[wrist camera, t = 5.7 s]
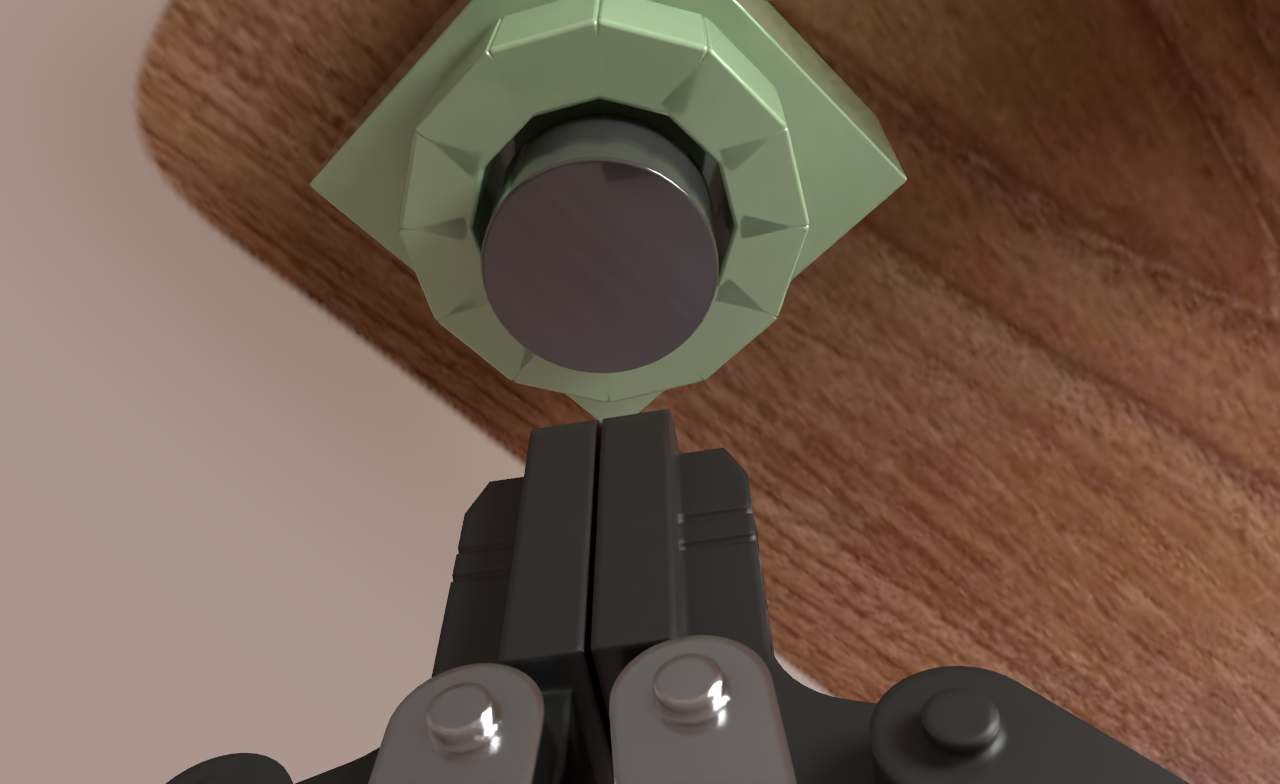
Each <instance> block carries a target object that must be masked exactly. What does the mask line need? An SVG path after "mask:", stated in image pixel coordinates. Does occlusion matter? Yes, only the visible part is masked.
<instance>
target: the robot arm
mask: <svg viewBox="0 0 1280 784" xmlns="http://www.w3.org/2000/svg"><path fill="white" fill-rule="evenodd" d="M458 550H459V554H457V555H456V560H455V566H454V570H453V575H452V576H453V582H451V585H450V590H449V595H448V600H447V604H446V609H445V614H444V620H443V624H442V629H441V634H440V639H439V644H438V649H437V654H436V659H435V664H434V669H433V673H432V678H431V679H429V680H427V681H426V682H424V683H423V684H422V685H420V686H418V687H417V688H416V689H415V690H414V691H413V692H411V693H410V694H409V695H408V696H407V697H406V698H405V699H404V700H403V701H402V702H401V703H400V705H399V706H398V707H397V709H396V710H395V712H394V713H393V715H392V716H391V718H390V721H389V723H388V725H387V728H386V731H385V734H384V737H383V740H382V743H381V746H380V748H378V749H376V750H374V751H372V752H371V753H369V754H367V755H365V756H363V757H361V758H359V759H357V760H355V761H352V762H350V763H347V764H345V765H342V766H340V767H337V768H334V769H332V770H329V771H327V772H324V773H321V774H319V775H316V776H314V777H311V778H309V779H306V780H304V781H301V782H298V783H296V784H1189V783H1188V782H1186V781H1184V780H1183V779H1181V778H1179V777H1177V776H1176V775H1174V774H1172V773H1171V772H1169V771H1167V770H1166V769H1164V768H1162V767H1161V766H1159V765H1157V764H1155V763H1154V762H1152V761H1150V760H1149V759H1147V758H1145V757H1144V756H1142V755H1140V754H1139V753H1137V752H1135V751H1134V750H1132V749H1130V748H1128V747H1127V746H1125V745H1123V744H1122V743H1120V742H1118V741H1117V740H1115V739H1113V738H1112V737H1110V736H1108V735H1106V734H1105V733H1103V732H1101V731H1100V730H1098V729H1096V728H1095V727H1093V726H1091V725H1090V724H1088V723H1086V722H1084V721H1083V720H1081V719H1079V718H1078V717H1076V716H1074V715H1073V714H1071V713H1069V712H1068V711H1066V710H1064V709H1062V708H1061V707H1059V706H1057V705H1056V704H1054V703H1052V702H1051V701H1049V700H1047V699H1046V698H1044V697H1042V696H1041V695H1039V694H1037V693H1035V692H1034V691H1032V690H1030V689H1029V688H1027V687H1025V686H1024V685H1022V684H1020V683H1019V682H1017V681H1015V680H1013V679H1011V678H1009V677H1007V676H1005V675H1002V674H999V673H996V672H993V671H990V670H985V669H981V668H976V667H965V666H949V667H939V668H933V669H928V670H925V671H922V672H919V673H916V674H913V675H911V676H909V677H907V678H905V679H903V680H901V681H900V682H898V683H897V684H895V685H894V686H892V687H891V688H890V689H889V690H888V691H887V692H886V693H885V694H884V695H883V696H882V698H881V699H880V700H879V702H878V703H877V704H875V703H867V702H860V701H853V700H846V699H841V698H836V697H831V696H828V695H825V694H822V693H819V692H816V691H814V690H812V689H810V688H808V687H806V686H804V685H802V684H801V683H799V682H798V681H796V680H795V679H793V678H792V677H791V676H790V675H789V674H788V673H787V672H786V671H785V670H784V669H783V668H782V667H781V665H780V664H779V663H778V661H777V660H776V658H775V656H774V651H773V643H772V635H771V628H770V621H769V613H768V605H767V598H766V590H765V583H764V577H763V570H762V564H761V558H760V551H759V545H758V539H757V532H756V526H755V520H754V513H753V507H752V501H751V494H750V488H749V482H748V475H747V473H746V472H745V471H744V469H743V468H742V467H741V466H740V465H739V464H738V463H737V462H736V461H735V460H734V458H733V457H732V456H731V455H730V454H729V453H728V452H727V451H726V450H725V448H719V449H712V450H705V451H698V452H691V453H684V454H679V449H678V444H677V438H676V433H675V428H674V423H673V419H672V415H671V412H670V409H665V410H659V411H652V412H645V413H638V414H632V415H625V416H618V417H611V418H605V419H603V421H602V425H601V423H600V421H599V420H593V421H586V422H579V423H573V424H566V425H559V426H552V427H546V428H539V429H533V430H532V431H531V433H530V439H529V446H528V453H527V460H526V467H525V474H524V477H520V478H513V479H506V480H499V481H492V482H489V484H488V485H487V486H486V488H485V489H484V490H483V492H482V493H481V494H480V495H479V497H478V498H477V499H476V500H475V502H474V503H473V504H472V506H471V507H470V508H469V509H468V511H467V512H466V513H465V516H464V521H463V526H462V531H461V537H460V541H459V546H458ZM166 784H293V782H292V780H291V778H290V776H289V774H288V773H287V771H286V770H285V768H284V767H283V766H282V765H281V764H279V763H278V762H277V761H275V760H273V759H271V758H269V757H267V756H263V755H259V754H253V753H237V754H229V755H224V756H219V757H216V758H213V759H210V760H207V761H204V762H201V763H199V764H197V765H195V766H193V767H191V768H189V769H187V770H186V771H184V772H182V773H180V774H179V775H177V776H175V777H174V778H173V779H171V780H170V781H169V782H167V783H166Z"/></svg>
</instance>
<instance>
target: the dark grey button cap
mask: <svg viewBox="0 0 1280 784" xmlns="http://www.w3.org/2000/svg"><path fill="white" fill-rule="evenodd" d="M481 274H482V280H483V286H484V289H485V292H486V296H487V299H488V301H489V303H490V305H491V307H492V309H493V312H494V313H495V315H496V316H497V318H498V319H499V321H500V323H501V324H502V325H503V326H504V328H505V329H506V330H507V331H508V332H509V334H510V335H511V336H512V337H513V338H514V339H516V340H517V341H518V342H519V343H520V344H521V345H522V346H524V347H525V348H526V349H528V350H529V351H530V352H532V353H533V354H535V355H537V356H539V357H540V358H542V359H544V360H546V361H548V362H551V363H553V364H555V365H558V366H561V367H564V368H568V369H571V370H575V371H581V372H588V373H617V372H623V371H629V370H633V369H637V368H640V367H643V366H646V365H649V364H651V363H653V362H656V361H658V360H660V359H662V358H663V357H665V356H667V355H668V354H670V353H672V352H673V351H674V350H676V349H677V348H678V347H679V346H681V345H682V344H683V343H684V342H685V341H686V340H687V339H688V338H689V337H690V336H691V335H692V334H693V333H694V332H695V331H696V329H697V328H698V327H699V326H700V324H701V323H702V321H703V320H704V318H705V316H706V314H707V313H708V311H709V309H710V306H711V304H712V301H713V299H714V296H715V292H716V288H717V284H718V274H719V261H718V249H717V240H716V231H715V222H714V213H713V205H712V199H711V194H710V190H709V187H708V185H707V182H706V179H705V177H704V175H703V173H702V171H701V169H700V167H699V166H698V164H697V163H696V161H695V160H694V158H693V157H692V155H691V154H690V153H689V152H688V151H687V150H686V149H685V148H684V147H683V146H682V145H681V144H680V143H679V142H678V141H677V140H675V139H674V138H673V137H672V136H671V135H669V134H668V133H666V132H664V131H663V130H661V129H660V128H658V127H656V126H654V125H652V124H650V123H647V122H645V121H642V120H639V119H636V118H633V117H629V116H624V115H618V114H606V113H597V114H585V115H580V116H575V117H571V118H568V119H565V120H562V121H559V122H557V123H555V124H553V125H551V126H549V127H547V128H545V129H543V130H542V131H540V132H539V133H537V134H536V135H534V136H533V137H532V138H531V139H530V140H528V141H527V142H526V143H525V144H524V145H523V146H522V147H521V148H520V149H519V151H518V152H517V153H516V154H515V155H514V156H513V158H512V160H511V161H510V163H509V164H508V166H507V168H506V169H505V172H504V174H503V176H502V178H501V181H500V184H499V188H498V191H497V194H496V198H495V201H494V205H493V208H492V212H491V215H490V219H489V222H488V225H487V229H486V232H485V236H484V240H483V244H482V251H481Z"/></svg>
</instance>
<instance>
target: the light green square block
mask: <svg viewBox="0 0 1280 784" xmlns="http://www.w3.org/2000/svg"><path fill="white" fill-rule="evenodd" d="M597 113H606V114H618V115H624V116H629V117H633V118H636V119H639V120H642V121H645V122H647V123H650V124H652V125H654V126H656V127H658V128H660V129H661V130H663V131H664V132H666V133H668V134H669V135H671V136H672V137H673V138H674V139H675V140H677V141H678V142H679V143H680V144H681V145H682V146H683V147H684V148H685V149H686V150H687V151H688V152H689V153H690V154H691V155H692V157H693V158H694V160H695V161H696V163H697V164H698V166H699V167H700V169H701V171H702V173H703V175H704V177H705V179H706V182H707V185H708V187H709V190H710V194H711V199H712V205H713V213H714V222H715V231H716V240H717V249H718V261H719V274H718V284H717V288H716V292H715V296H714V299H713V301H712V304H711V306H710V309H709V311H708V313H707V314H706V316H705V318H704V320H703V321H702V323H701V324H700V326H699V327H698V328H697V329H696V331H695V332H694V333H693V334H692V335H691V336H690V337H689V338H688V339H687V340H686V341H685V342H684V343H683V344H682V345H681V346H679V347H678V348H677V349H676V350H674V351H673V352H672V353H670V354H668V355H667V356H665V357H663V358H662V359H660V360H658V361H656V362H653V363H651V364H649V365H646V366H643V367H640V368H637V369H633V370H629V371H623V372H617V373H588V372H581V371H575V370H571V369H568V368H564V367H561V366H558V365H555V364H553V363H551V362H548V361H546V360H544V359H542V358H540V357H539V356H537V355H535V354H533V353H532V352H530V351H529V350H528V349H526V348H525V347H524V346H522V345H521V344H520V343H519V342H518V341H517V340H516V339H514V338H513V337H512V336H511V335H510V334H509V332H508V331H507V330H506V329H505V328H504V326H503V325H502V324H501V323H500V321H499V319H498V318H497V316H496V315H495V313H494V312H493V309H492V307H491V305H490V303H489V301H488V299H487V296H486V292H485V289H484V286H483V280H482V274H481V251H482V244H483V240H484V236H485V232H486V229H487V225H488V222H489V219H490V215H491V212H492V208H493V205H494V201H495V198H496V194H497V191H498V188H499V184H500V181H501V178H502V176H503V174H504V172H505V169H506V168H507V166H508V164H509V163H510V161H511V160H512V158H513V156H514V155H515V154H516V153H517V152H518V151H519V149H520V148H521V147H522V146H523V145H524V144H525V143H526V142H527V141H528V140H530V139H531V138H532V137H533V136H534V135H536V134H537V133H539V132H540V131H542V130H543V129H545V128H547V127H549V126H551V125H553V124H555V123H557V122H559V121H562V120H565V119H568V118H571V117H575V116H580V115H585V114H597ZM906 181H907V178H906V176H905V174H904V172H903V170H902V168H901V166H900V164H899V162H898V159H897V157H896V155H895V153H894V151H893V149H892V147H891V145H890V143H889V141H888V139H887V137H886V135H885V133H884V131H883V129H882V127H881V125H880V123H879V121H878V119H877V117H876V115H875V114H874V113H873V112H872V111H871V110H870V109H869V108H868V107H867V106H866V105H865V103H864V102H863V101H862V100H861V99H860V98H859V97H858V96H857V95H856V94H855V93H854V92H853V91H852V90H851V89H850V88H849V87H848V86H847V84H846V83H845V82H844V81H843V80H842V79H841V78H840V77H839V76H838V75H837V74H836V73H835V72H834V71H833V70H832V69H831V68H830V67H829V66H828V64H827V63H826V62H825V61H824V60H823V59H822V58H821V57H820V56H819V55H818V54H817V53H816V52H815V51H814V50H813V49H812V48H811V47H810V45H809V44H808V43H807V42H806V41H805V40H804V39H803V38H802V37H801V36H800V35H799V34H798V33H797V32H796V31H795V30H794V29H793V28H792V26H791V25H790V24H789V23H788V22H787V21H786V20H785V19H784V18H783V17H782V16H781V15H780V14H779V13H778V12H777V11H776V10H775V9H774V8H773V6H772V5H771V4H770V3H769V2H768V1H767V0H456V1H455V2H454V3H453V4H452V6H451V7H450V8H449V9H448V10H447V11H446V12H445V14H444V15H443V16H442V17H441V18H440V19H439V20H438V22H437V23H436V24H435V25H434V26H433V27H432V28H431V30H430V31H429V32H428V33H427V34H426V35H425V36H424V37H423V39H422V40H421V41H420V42H419V43H418V44H417V45H416V47H415V48H414V49H413V50H412V51H411V52H410V53H409V55H408V56H407V57H406V58H405V59H404V60H403V61H402V63H401V64H400V65H399V66H398V67H397V68H396V69H395V71H394V72H393V73H392V74H391V75H390V76H389V77H388V79H387V80H386V81H385V82H384V83H383V84H382V85H381V87H380V88H379V89H378V90H377V91H376V92H375V93H374V95H373V96H372V97H371V98H370V99H369V100H368V101H367V103H366V104H365V105H364V106H363V107H362V108H361V109H360V111H359V112H358V113H357V114H356V115H355V116H354V117H353V118H352V120H351V121H350V122H349V124H348V125H347V127H346V129H345V130H344V132H343V133H342V135H341V136H340V138H339V139H338V141H337V142H336V144H335V145H334V147H333V148H332V150H331V152H330V153H329V155H328V156H327V158H326V159H325V161H324V162H323V164H322V165H321V167H320V168H319V170H318V171H317V173H316V175H315V176H314V178H313V179H312V181H311V182H310V187H311V188H313V189H314V190H315V191H316V192H317V193H319V194H320V195H321V196H322V197H324V198H325V199H326V200H327V201H329V202H330V203H331V204H332V205H333V206H335V207H336V208H337V209H338V210H340V211H341V212H342V213H343V214H345V215H346V216H347V217H348V218H349V219H351V220H352V221H353V222H354V223H356V224H357V225H358V226H359V227H361V228H362V229H363V230H364V231H365V232H367V233H368V234H369V235H370V236H372V237H373V238H374V239H375V240H377V241H378V242H379V243H380V244H381V245H383V246H384V247H385V248H386V249H388V250H389V251H390V252H391V253H393V254H394V255H395V256H396V257H397V258H399V259H400V260H401V261H402V262H404V263H405V264H406V265H407V266H409V267H410V268H411V269H412V270H413V271H415V273H416V276H417V278H418V280H419V283H420V285H421V288H422V290H423V292H424V295H425V297H426V300H427V302H428V304H429V307H430V309H431V312H432V314H433V316H434V318H435V319H436V320H437V321H438V322H439V324H441V325H442V326H443V327H444V328H446V329H447V330H448V331H449V332H451V333H452V334H453V335H454V336H456V337H457V338H458V339H459V340H461V341H462V342H463V343H464V344H466V345H467V346H468V347H469V348H471V349H472V350H473V351H474V352H476V353H477V354H478V355H479V356H481V357H482V358H483V359H484V360H486V361H487V362H488V363H489V364H491V365H492V366H493V367H494V368H496V369H497V370H498V371H499V372H501V373H502V374H503V375H504V376H506V377H507V378H508V379H509V380H514V382H515V383H518V384H523V385H528V386H532V387H537V388H541V389H546V390H550V391H555V392H559V393H564V394H566V395H567V396H569V397H570V398H571V399H572V400H573V401H575V402H576V403H577V404H578V405H580V406H581V407H582V408H583V409H585V410H586V411H587V412H588V413H589V414H591V415H592V416H593V417H594V418H596V419H597V420H599V421H600V422H601V423H602V421H603V419H605V418H611V417H618V416H625V415H632V414H638V413H639V412H640V411H641V410H642V409H643V408H645V407H646V406H647V405H648V404H649V403H650V402H652V401H653V400H654V399H655V398H656V397H657V396H658V395H660V394H661V393H662V392H663V391H664V390H668V389H672V388H676V387H681V386H685V385H689V384H693V383H697V382H701V381H702V380H706V379H707V378H708V377H710V376H711V375H712V374H713V373H714V372H716V371H717V370H718V369H719V368H720V367H721V366H723V365H724V364H725V363H726V362H727V361H728V360H730V359H731V358H732V357H733V356H734V355H735V354H737V353H738V352H739V351H740V350H741V349H742V348H744V347H745V346H746V345H747V344H748V343H749V342H751V341H752V340H753V339H754V338H755V337H757V336H758V335H759V334H760V333H761V332H762V331H764V330H765V329H766V328H767V327H768V326H769V325H771V324H772V323H773V322H774V321H775V320H776V319H777V316H778V315H779V313H780V310H781V307H782V305H783V302H784V299H785V296H786V293H787V290H788V288H789V285H790V282H791V280H793V279H794V278H795V277H796V276H797V275H798V274H799V273H801V272H802V271H803V270H804V269H805V268H806V267H808V266H809V265H810V264H811V263H812V262H813V261H815V260H816V259H817V258H818V257H819V256H820V255H821V254H823V253H824V252H825V251H826V250H827V249H828V248H830V247H831V246H832V245H833V244H834V243H835V242H836V241H838V240H839V239H840V238H841V237H842V236H843V235H845V234H846V233H847V232H848V231H849V230H850V229H852V228H853V227H854V226H855V225H856V224H857V223H858V222H860V221H861V220H862V219H863V218H864V217H865V216H867V215H868V214H869V213H870V212H871V211H872V210H873V209H875V208H876V207H877V206H878V205H879V204H880V203H882V202H883V201H884V200H885V199H886V198H887V197H889V196H890V195H891V194H892V193H893V192H894V191H895V190H897V189H898V188H899V187H900V186H901V185H902V184H904V183H905V182H906Z"/></svg>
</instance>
